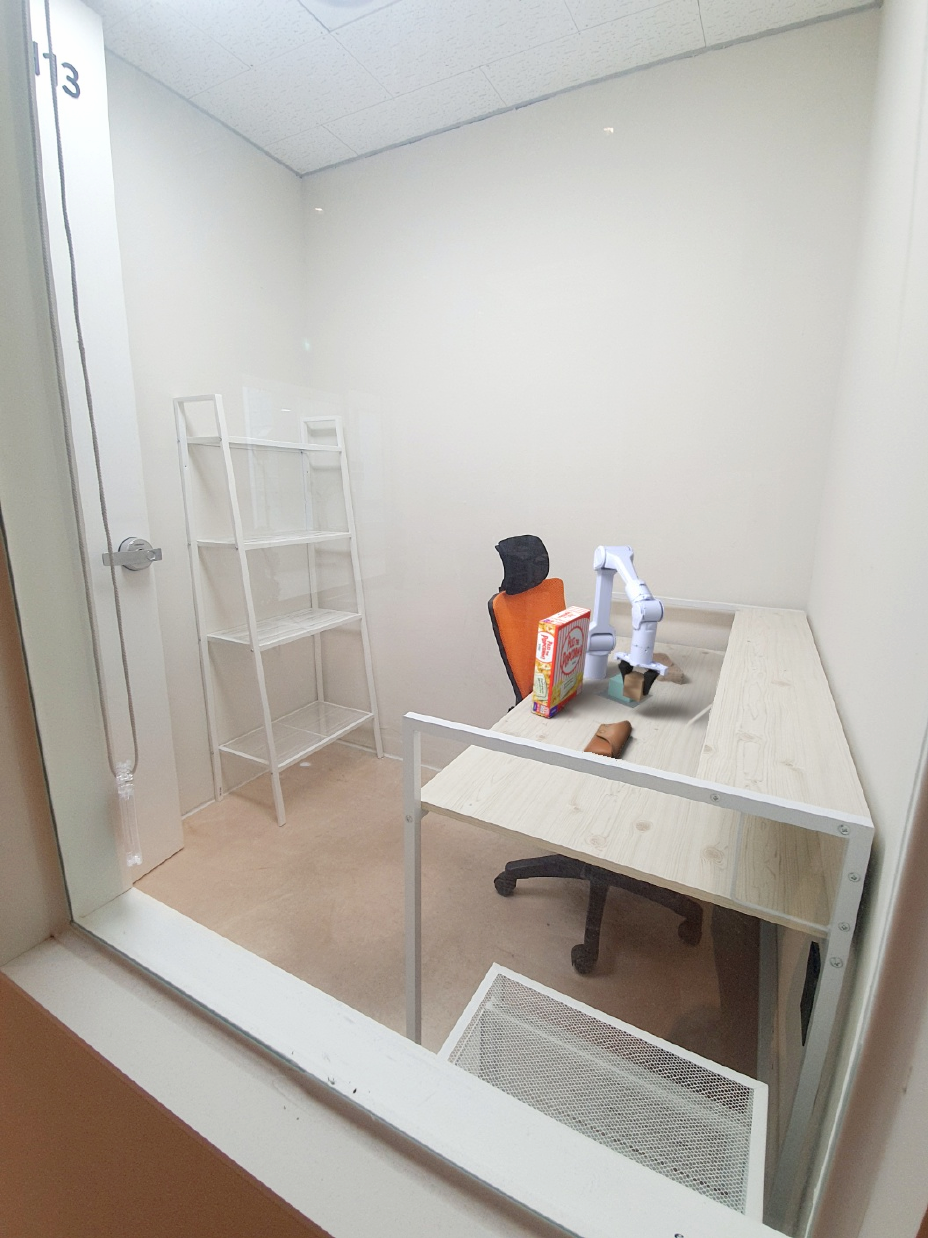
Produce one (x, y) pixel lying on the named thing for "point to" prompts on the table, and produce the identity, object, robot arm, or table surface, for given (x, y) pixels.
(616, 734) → the sunglasses case
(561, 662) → the cardboard food box
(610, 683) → the base brick
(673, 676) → the brick
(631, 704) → the baseplate
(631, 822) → the table surface
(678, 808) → the table surface
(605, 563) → the robot arm
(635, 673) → the walnut block
